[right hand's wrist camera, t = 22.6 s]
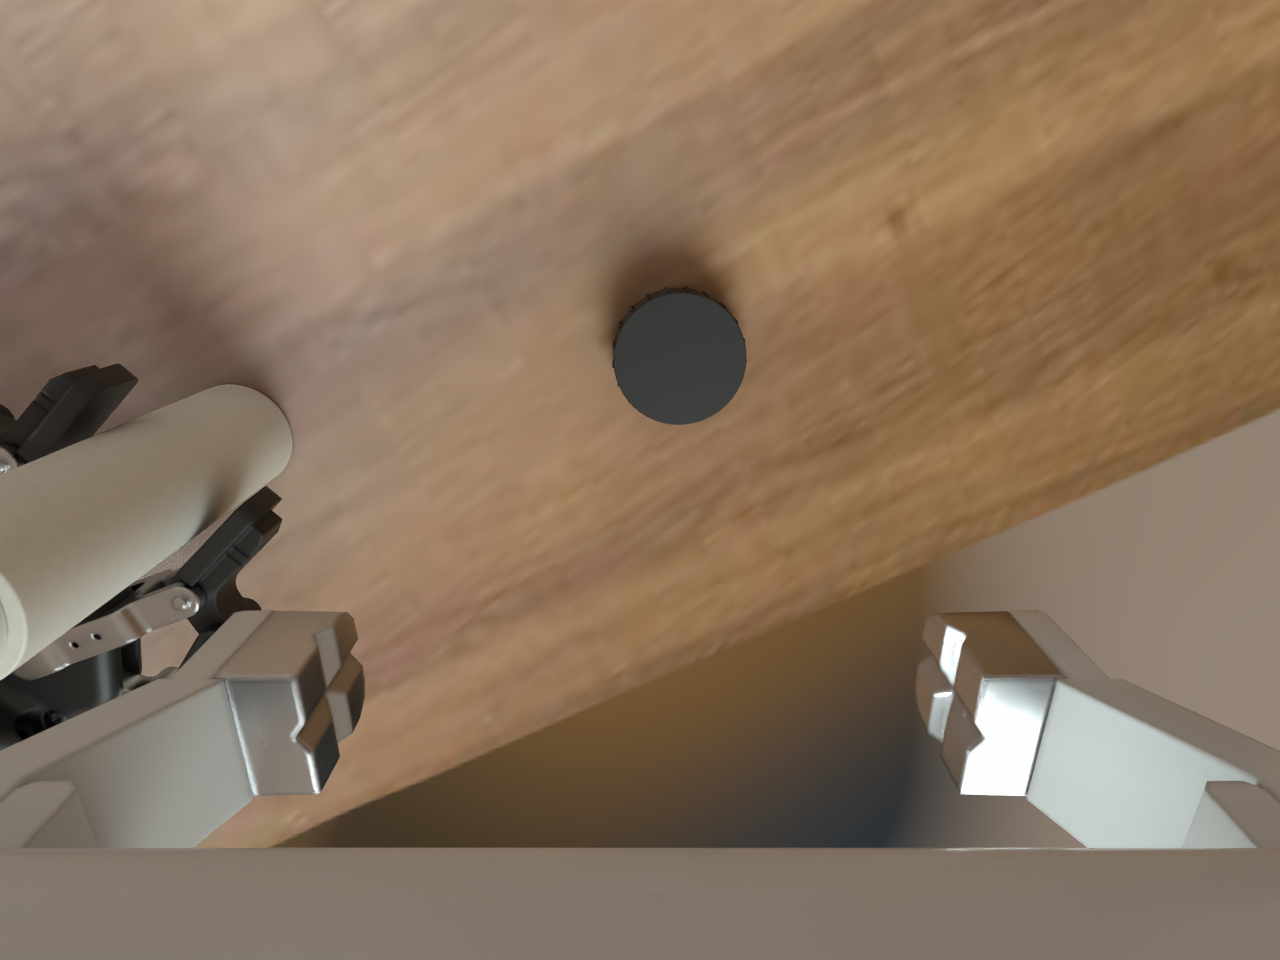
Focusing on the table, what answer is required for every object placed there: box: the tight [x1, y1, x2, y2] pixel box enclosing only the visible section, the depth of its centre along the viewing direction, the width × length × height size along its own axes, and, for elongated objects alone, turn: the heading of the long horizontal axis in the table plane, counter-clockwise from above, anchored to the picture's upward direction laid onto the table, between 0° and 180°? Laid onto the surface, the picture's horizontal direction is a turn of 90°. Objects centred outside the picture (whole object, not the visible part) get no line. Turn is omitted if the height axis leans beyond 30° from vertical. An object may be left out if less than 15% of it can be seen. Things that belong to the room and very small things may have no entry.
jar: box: [0, 384, 293, 680], centre depth 23 cm, size 4×4×16 cm
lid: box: [612, 286, 747, 425], centre depth 29 cm, size 5×5×2 cm
